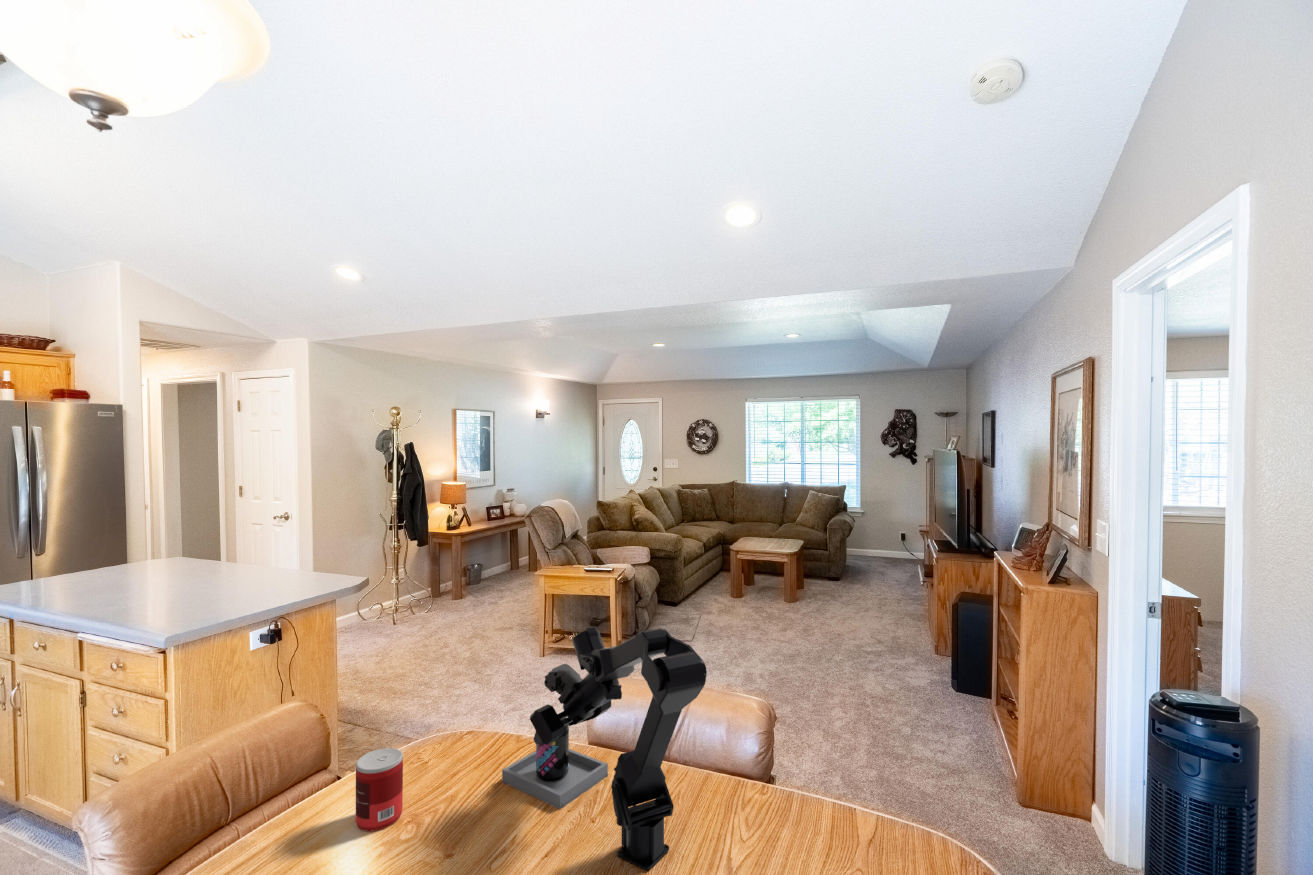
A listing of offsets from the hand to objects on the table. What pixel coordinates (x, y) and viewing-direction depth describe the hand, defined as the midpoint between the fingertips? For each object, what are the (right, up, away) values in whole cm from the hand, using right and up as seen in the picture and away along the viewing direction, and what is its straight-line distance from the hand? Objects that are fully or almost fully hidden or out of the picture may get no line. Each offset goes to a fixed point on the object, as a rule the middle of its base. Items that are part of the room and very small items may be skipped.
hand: (551, 732), depth 126 cm
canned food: (-29, -9, -14) cm, 34 cm away
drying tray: (+1, -9, -1) cm, 9 cm away
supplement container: (0, -9, 0) cm, 9 cm away
